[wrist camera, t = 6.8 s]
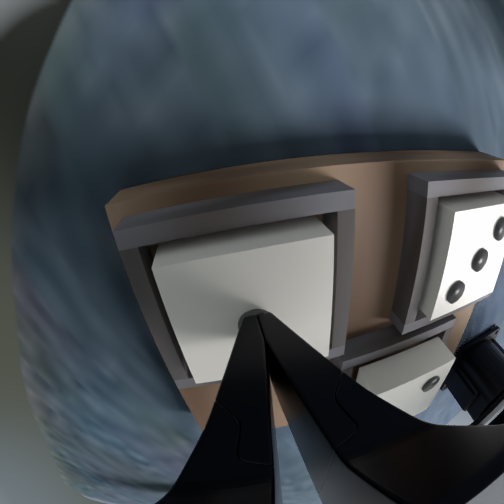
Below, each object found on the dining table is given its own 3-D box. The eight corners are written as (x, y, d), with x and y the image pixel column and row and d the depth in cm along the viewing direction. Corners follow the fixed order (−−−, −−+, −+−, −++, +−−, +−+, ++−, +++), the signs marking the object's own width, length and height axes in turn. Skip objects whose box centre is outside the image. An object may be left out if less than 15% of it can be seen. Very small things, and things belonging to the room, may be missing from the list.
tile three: (490, 189, 10) (517, 202, 9) (472, 274, 13) (494, 292, 11) (425, 196, 10) (457, 213, 8) (409, 298, 12) (431, 322, 10)
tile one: (311, 212, 9) (335, 236, 8) (313, 326, 12) (329, 358, 10) (159, 240, 9) (150, 270, 7) (194, 349, 11) (196, 386, 10)
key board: (480, 151, 11) (522, 166, 9) (435, 347, 18) (456, 374, 16) (120, 189, 10) (92, 219, 7) (205, 414, 17) (209, 455, 14)
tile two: (437, 336, 13) (457, 359, 11) (414, 389, 15) (428, 410, 13) (359, 367, 12) (375, 398, 10) (346, 416, 14) (357, 441, 13)
